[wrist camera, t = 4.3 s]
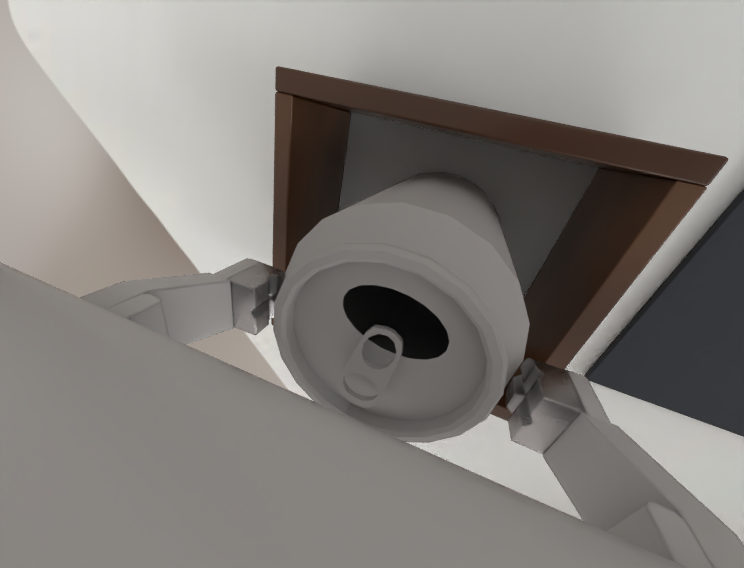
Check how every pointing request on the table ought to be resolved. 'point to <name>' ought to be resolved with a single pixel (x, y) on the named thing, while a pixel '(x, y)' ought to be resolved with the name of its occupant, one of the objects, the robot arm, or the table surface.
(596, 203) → the crate
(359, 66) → the table surface
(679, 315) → the mat
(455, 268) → the can
